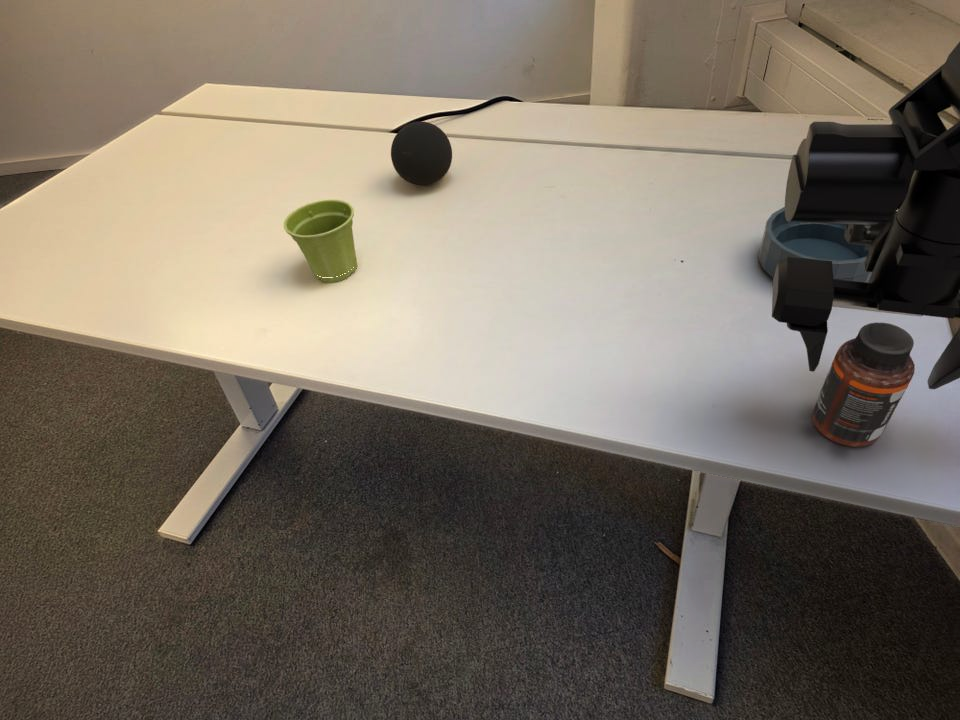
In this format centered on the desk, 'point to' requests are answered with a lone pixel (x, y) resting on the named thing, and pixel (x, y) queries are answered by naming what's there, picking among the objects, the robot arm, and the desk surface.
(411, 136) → the speaker
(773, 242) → the bowl
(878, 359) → the supplement bottle
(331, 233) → the plant pot
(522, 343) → the desk surface
